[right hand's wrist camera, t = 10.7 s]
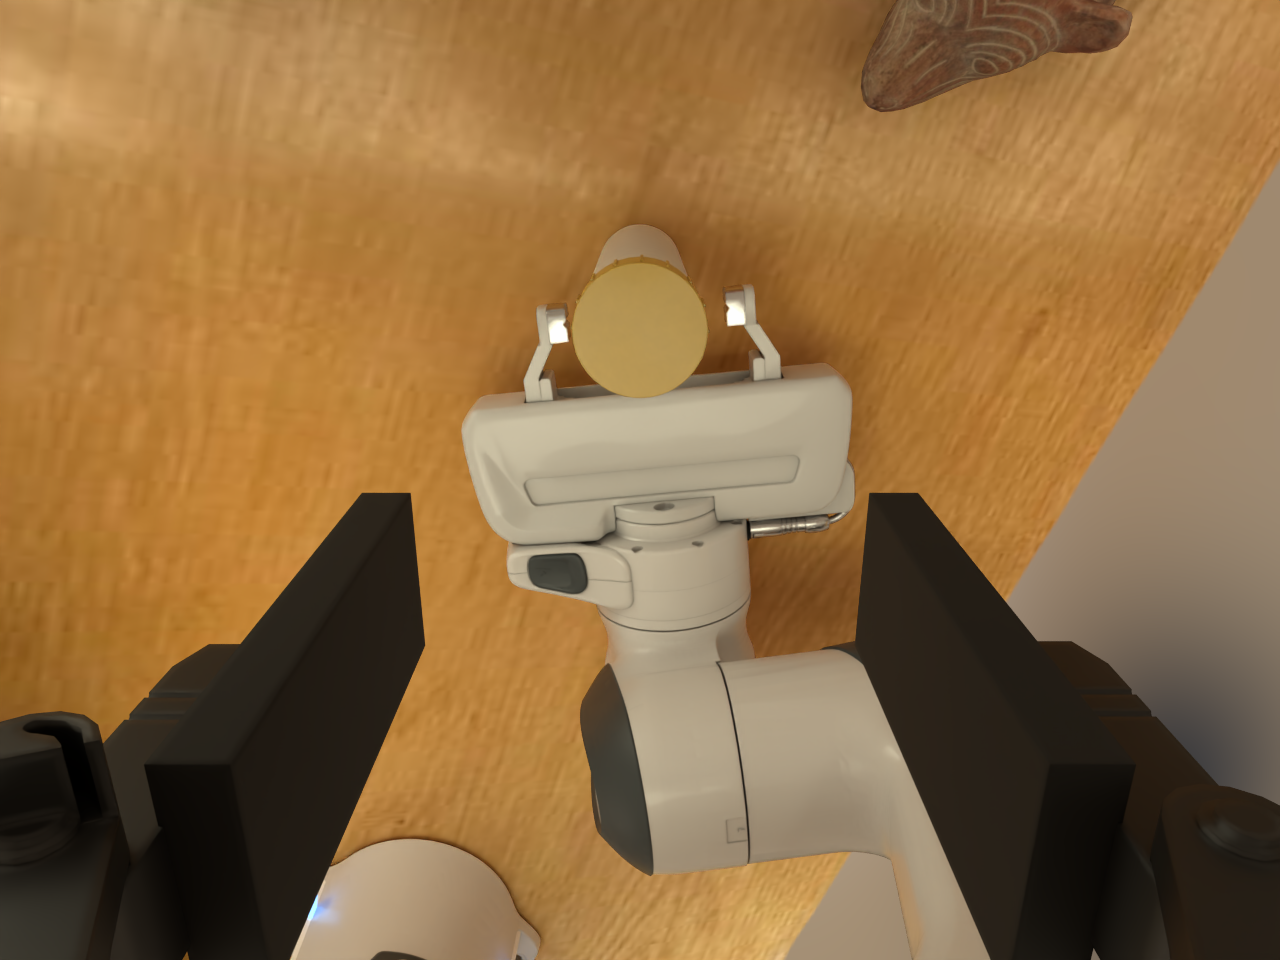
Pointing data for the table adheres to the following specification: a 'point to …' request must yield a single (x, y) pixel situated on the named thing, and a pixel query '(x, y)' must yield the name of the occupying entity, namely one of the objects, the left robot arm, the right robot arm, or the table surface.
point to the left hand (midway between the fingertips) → (644, 295)
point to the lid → (640, 327)
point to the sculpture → (978, 42)
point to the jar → (640, 246)
